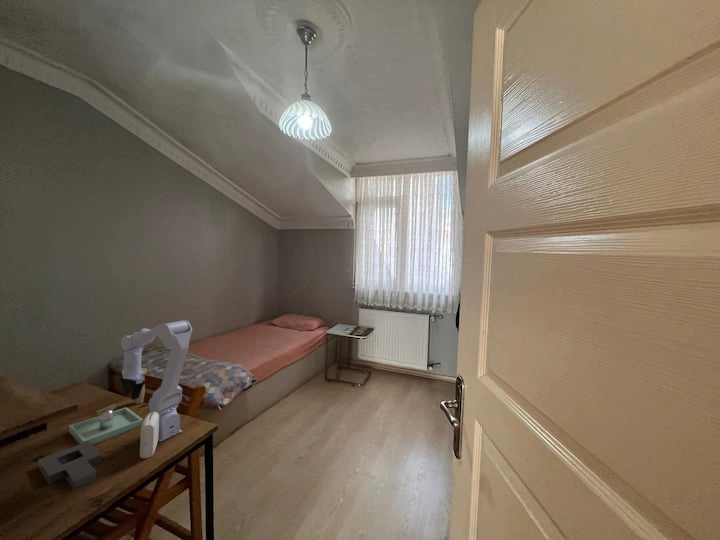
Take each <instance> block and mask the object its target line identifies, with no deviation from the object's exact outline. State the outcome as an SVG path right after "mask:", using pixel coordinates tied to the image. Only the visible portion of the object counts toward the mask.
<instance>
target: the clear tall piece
mask: <svg viewBox="0 0 720 540" xmlns="http://www.w3.org/2000/svg"><path fill="white" fill-rule="evenodd" d="M116 408H117V404H111V405H108V406H106V407H103V408H100V409H98V410H95V414H96V415H98V416H99V430H107V429H109V428H111V427H112V426H113V411H114V409H116Z"/></svg>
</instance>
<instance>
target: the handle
mask: <svg viewBox="0 0 720 540" xmlns="http://www.w3.org/2000/svg"><path fill="white" fill-rule="evenodd" d="M141 371H144V374H141V376H142V378H143V380H145V375H147V373H148V369H147V368H145V367H141ZM145 381H146V380H145ZM145 387H146V383H145V384H144V385H143V387H142V389H141V392H140V395H139V398H137V399H134V404H136V405H139V403H140V404H142V403H144V400H145V399H144V398H145V394H146V393H145V390H146V388H145Z"/></svg>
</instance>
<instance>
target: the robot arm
mask: <svg viewBox="0 0 720 540" xmlns="http://www.w3.org/2000/svg"><path fill="white" fill-rule="evenodd" d="M139 330H140V331H135V332H133V333H132V334H131V335H124V336H122V338H121V340H120V347H121V348H122V350H123V353H124V354H123V369H122V370H121V375H122V376H120V377H118V380H119V382H120V384H121V386H122V390H123V393H124V395H127V394H130V397H131V400H134V401H135V399H137V398H139V395H140V392H141V389H142V387H143V385H144V384H145V385H146V382H147V381H146V380H143V378H142V376H141V374H144V371H141V368H142V353H143V351H144V348H145V346H146V345H147V344H149V343H152V342H153V341H154V340H155V337H158V338H159V340H161V342H162V343H163V345H164V346H165V347H166V349H168V350H169V349H170V353H169V356H168V360H167V364H166V367H165V369H164V370H165V371H164V374H163V377H162V382H161V385H160V386H159V387H158V388H157V389H156V390H155V391H154V392H153V394H152V396H151V397H150V399H149V400H148V408H149V411H150V412H157V413H158V414H159V433H158V442H162V441H165V440H167V439H169V438H171V436H172V437H173V435H174V436H176V435H178V434H177V433H179V434H181V433H182V432H183V430H182V429H180V428H181V427H180V426H181V416H180V414H179V413H178V412H177V408H178V407H179V404H180V403H181V402H182V399H183V396H182V395H183V394H182V393H183V388H182V387H181V386H180V385H179V382H180V379H181V375H182V372H183V369H184V365H185V362H186V358H187V354H188V351H189V347H190V346H189V345H190V340H191V337H192V333H193V327H192V325H191V324H190V322H189V321H188V320H186V319H183V320H180V321H179V320H178V321H174V322H168V323H161V324H158V325H156V326H155V327H153V328H151V329H150V328H146V327H145V328H140V329H139ZM180 432H181V433H180Z"/></svg>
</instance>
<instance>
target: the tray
mask: <svg viewBox="0 0 720 540" xmlns="http://www.w3.org/2000/svg"><path fill="white" fill-rule="evenodd" d="M143 421H144V419H143V418H142V417H141V416H139V415H137V414H136V413H135V412H133V411H132V410H131V409H130V408H128V407H127V406H126V407H123V408H120V409H117V410H113V426H112V427H111V428H109V429H107V430H99V415H98V416H95V417H91V418H89V419H87V420H86V419H85V420H83V421H80V422H77V423H76V422H75V423H73V424H70V425H69V428H68V433H69V434H70V436H72V437H73V439H74V440H75V441H76V442H77V444H78V445H79V444H82V443H85V442H87V441H89V442H90V443H91V444H92V446H95V445H96V444H99V443H101V442H103V441H106V440H110V439H113V438H114V437H117V436H119V435H122V434H124V433H128V432H131V431H133V430H135V428H136V429H138V428H141V427H140V426H142V423H143Z"/></svg>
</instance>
